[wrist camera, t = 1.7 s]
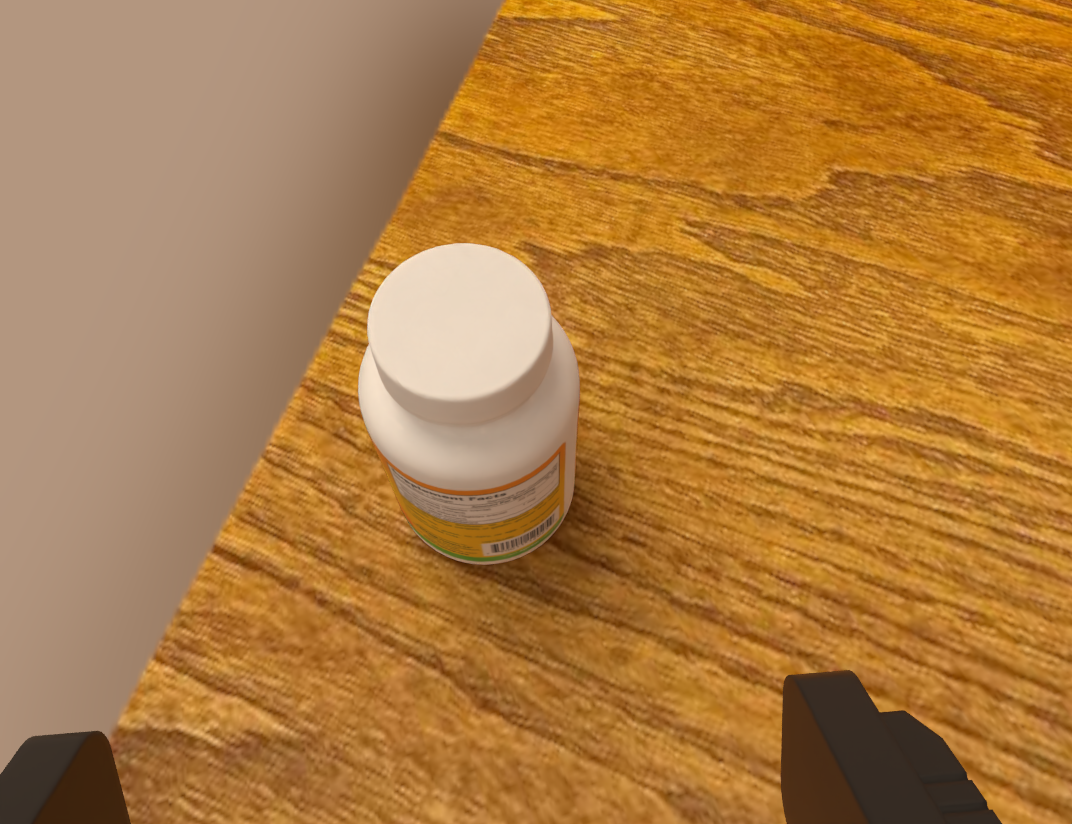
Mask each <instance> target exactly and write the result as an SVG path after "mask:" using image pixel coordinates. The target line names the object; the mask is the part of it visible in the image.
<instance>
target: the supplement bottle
mask: <svg viewBox="0 0 1072 824" xmlns="http://www.w3.org/2000/svg"><path fill="white" fill-rule="evenodd" d="M367 333H368V341H369V345H368V347H367V349H366V352H365V355H364V357H363V360H362V364H361V368H360V372H359V382H358V395H359V404H360V408H361V413H362V416H363V419H364V422H365V425H366V428H367V430H368V433H369V435H370V438H371V440H372V442H373V445H374V447H375V449H376V452H377V454H378V456H379V459H380V461H381V463H382V466H383V468H384V470H385V473H386V475H387V477H388V479H389V482H390V484H391V486H392V489H393V491H394V493H395V496H396V498H397V500H398V503H399V505H400V507H401V509H402V512H403V513H404V515H405V517H406V519H407V521H408V523H409V524H410V526H411V527H412V529H413V530H414V531H415V533H416V534H417V535H418V536H419V537H420V538H421V539H422V540H423V541H424V542H425V543H426V544H427V545H429V546H430V547H432V548H433V549H434V550H436V551H437V552H439V553H441V554H443V555H445V556H447V557H449V558H452V559H454V560H457V561H460V562H464V563H470V564H482V565H486V564H497V563H503V562H507V561H511V560H514V559H517V558H520V557H522V556H524V555H526V554H528V553H530V552H532V551H533V550H535V549H537V548H538V547H539V546H541V545H542V544H543V543H545V542H546V541H547V540H548V539H549V538H550V537H551V536H552V535H553V534H554V532H555V531H556V530H557V529H558V527H559V526H560V525H561V523H562V521H563V520H564V518H565V516H566V514H567V512H568V510H569V507H570V504H571V501H572V497H573V491H574V484H575V472H576V452H577V433H578V416H579V402H580V383H579V370H578V365H577V360H576V356H575V353H574V350H573V347H572V345H571V343H570V340H569V338H568V337H567V335H566V333H565V332H564V330H563V329H562V327H561V326H560V325H559V323H558V322H557V321H556V320H555V319H554V317H553V316H552V315H551V308H550V304H549V300H548V297H547V294H546V292H545V290H544V288H543V286H542V284H541V283H540V281H539V280H538V278H537V277H536V276H535V274H534V273H533V272H532V271H531V270H530V269H529V268H528V267H527V266H526V265H524V264H523V263H522V262H521V261H519V260H518V259H516V258H515V257H513V256H511V255H510V254H508V253H505V252H503V251H501V250H498V249H496V248H492V247H489V246H484V245H479V244H471V243H457V244H449V245H442V246H438V247H434V248H431V249H428V250H426V251H423V252H421V253H419V254H417V255H415V256H413V257H411V258H409V259H407V260H406V261H404V262H403V263H402V264H400V265H399V266H398V267H397V268H396V269H395V270H393V271H392V272H391V273H390V274H389V275H388V276H387V277H386V279H385V280H384V281H383V283H382V284H381V286H380V287H379V288H378V290H377V292H376V294H375V296H374V298H373V301H372V304H371V306H370V310H369V315H368V324H367Z"/></svg>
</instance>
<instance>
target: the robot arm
mask: <svg viewBox="0 0 1072 824" xmlns="http://www.w3.org/2000/svg"><path fill="white" fill-rule="evenodd" d="M781 792H782V800H783V807H784V813H785V817H786V822H787V824H1002V823H1001V822H1000V820H999V819H998V817H997V816H996V814H995V813H994V812H993V810H989V809H988V807H987V801H986V800H985V799H984V797H983V796H982V794H981V793H980V791H979V790H978V789H977V787H976V786H975V784H974V783H973V781H972V780H968V778H967V773H966V771H965V770H964V768H963V767H962V766H961V764H960V763H959V761H958V760H957V758H956V757H955V756H954V754H953V753H952V751H951V750H950V748H949V747H948V745H947V744H946V743H945V741H944V740H943V738H941V737H940V736H939V735H937V734H936V733H934V732H933V731H932V730H930V729H929V728H928V727H926V726H925V725H923V724H922V723H921V722H919V721H918V720H917V719H915V718H914V717H913V716H911V715H910V714H908V713H907V712H906V711H892V712H880V713H879V711H878V709H877V708H876V706H875V705H874V703H873V701H872V700H871V698H870V697H869V695H868V693H867V692H866V690H865V689H864V687H863V685H862V684H861V682H860V680H859V679H858V677H857V676H856V675H855V674H854V673H853V672H852V671H850V670H844V671H833V672H821V673H809V674H797V675H788V676H787V677H786V679H785V681H784V687H783V713H782V754H781ZM0 824H131V823H130V819H129V815H128V811H127V807H126V804H125V800H124V796H123V792H122V788H121V784H120V781H119V777H118V773H117V769H116V765H115V761H114V758H113V754H112V750H111V747H110V744H109V741H108V739H107V737H106V736H105V735H104V734H103V733H102V732H100V731H91V732H79V733H67V734H55V735H43V736H33V737H31V738H29V739H27V740H26V741H25V742H24V743H23V744H22V746H21V747H20V748H19V749H18V751H17V752H16V754H15V755H14V757H13V758H12V760H11V761H10V762H9V763H8V765H7V766H6V768H5V769H4V770H3V772H2V773H1V774H0Z"/></svg>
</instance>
